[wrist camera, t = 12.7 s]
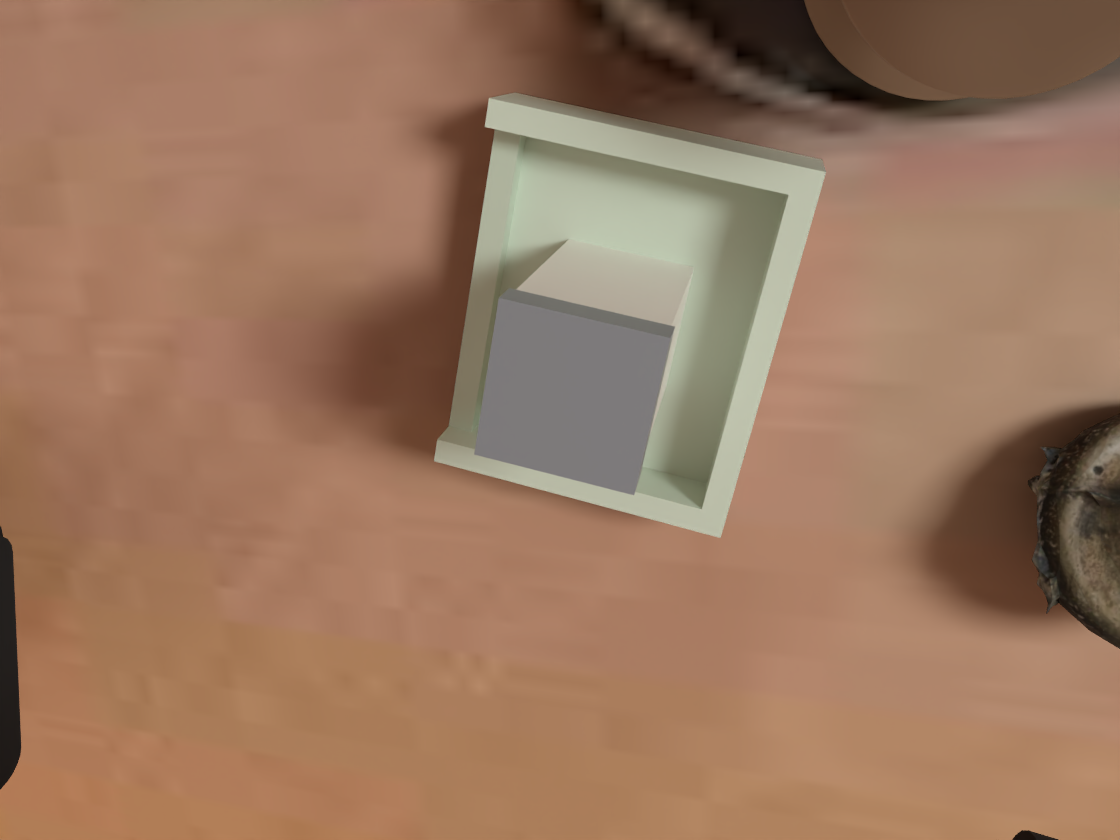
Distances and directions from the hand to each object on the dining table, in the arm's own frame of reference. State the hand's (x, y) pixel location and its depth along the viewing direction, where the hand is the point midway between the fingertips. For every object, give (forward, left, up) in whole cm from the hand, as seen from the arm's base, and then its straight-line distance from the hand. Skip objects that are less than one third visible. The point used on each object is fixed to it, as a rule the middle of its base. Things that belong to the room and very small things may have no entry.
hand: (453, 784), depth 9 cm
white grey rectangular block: (+2, -2, -24) cm, 24 cm away
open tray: (+2, -2, -25) cm, 25 cm away
